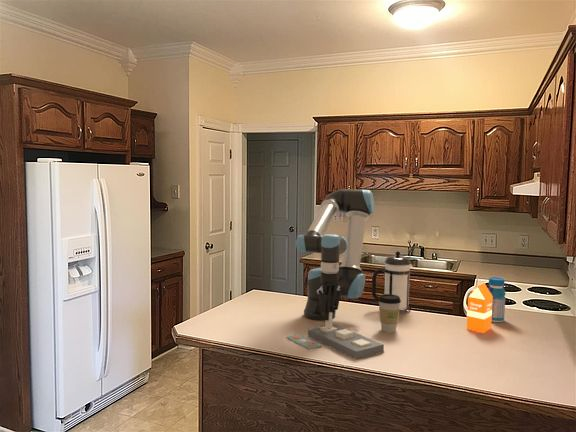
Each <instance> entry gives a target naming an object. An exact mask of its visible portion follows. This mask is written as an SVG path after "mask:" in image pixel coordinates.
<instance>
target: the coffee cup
mask: <svg viewBox="0 0 576 432" xmlns="http://www.w3.org/2000/svg"><path fill="white" fill-rule="evenodd" d="M378 297H379V299H378V300H377V301H378V305H379V309H378V310H379V319H380V326H381V327H380V328H381V331H382V332H384V333H395V332H396V331H397V324H398V321H399V314H400V310H399V305H400V302H401V300H400V297H399V296H397V295H392V294H380V295H379V296H378Z"/></svg>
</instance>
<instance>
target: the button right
mask: <svg viewBox="0 0 576 432" xmlns="http://www.w3.org/2000/svg"><path fill="white" fill-rule="evenodd" d="M352 344H354V345H356V346H358V347H360V348H362V347H366V346H370V345H371V343H370V342H368V341H365V340H363V339H360V340H355V341H352Z"/></svg>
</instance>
